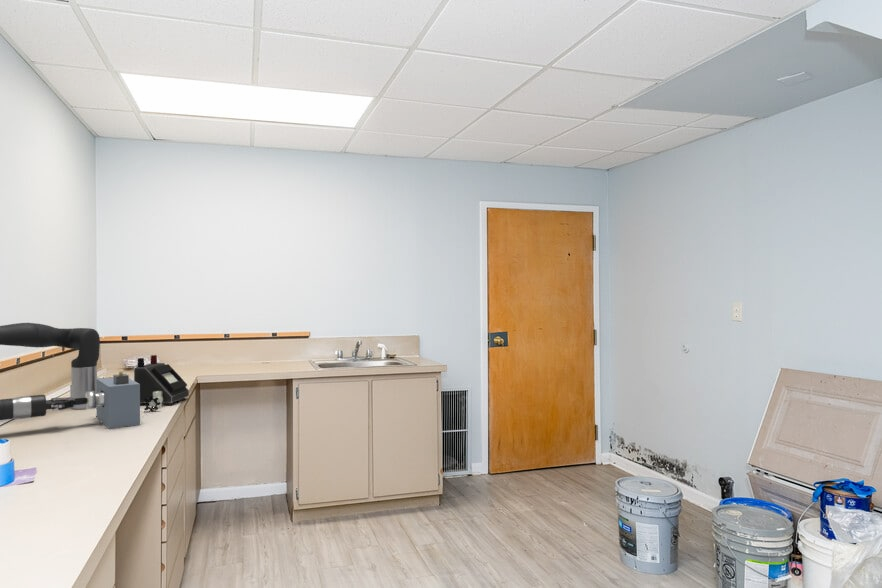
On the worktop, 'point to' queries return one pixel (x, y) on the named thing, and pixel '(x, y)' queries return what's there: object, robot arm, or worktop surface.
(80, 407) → the robot arm
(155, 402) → the valve
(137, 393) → the housing
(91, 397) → the knob
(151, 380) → the voltmeter
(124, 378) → the potentiometer
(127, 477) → the worktop surface
